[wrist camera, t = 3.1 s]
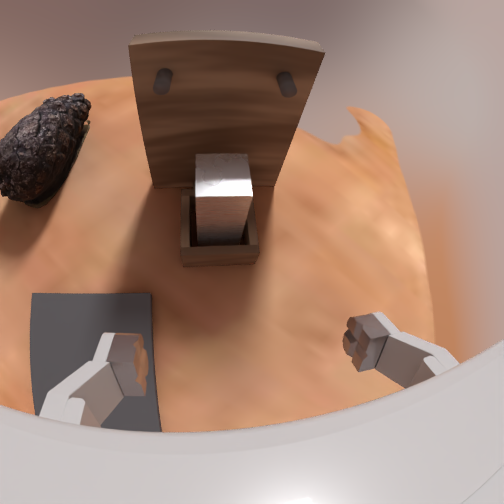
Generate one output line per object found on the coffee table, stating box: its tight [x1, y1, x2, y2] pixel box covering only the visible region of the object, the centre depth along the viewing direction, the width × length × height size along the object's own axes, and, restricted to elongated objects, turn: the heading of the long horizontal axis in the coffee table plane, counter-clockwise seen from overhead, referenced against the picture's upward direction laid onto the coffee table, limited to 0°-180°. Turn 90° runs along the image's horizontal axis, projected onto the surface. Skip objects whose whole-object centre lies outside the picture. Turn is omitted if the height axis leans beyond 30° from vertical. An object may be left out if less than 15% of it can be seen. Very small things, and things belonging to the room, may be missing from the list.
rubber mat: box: [30, 293, 162, 432], centre depth 21 cm, size 14×14×1 cm
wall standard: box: [128, 30, 325, 267], centre depth 21 cm, size 12×14×18 cm
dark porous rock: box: [0, 93, 91, 208], centre depth 25 cm, size 10×18×10 cm, turn 178°
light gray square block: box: [195, 154, 253, 247], centre depth 24 cm, size 4×4×10 cm
